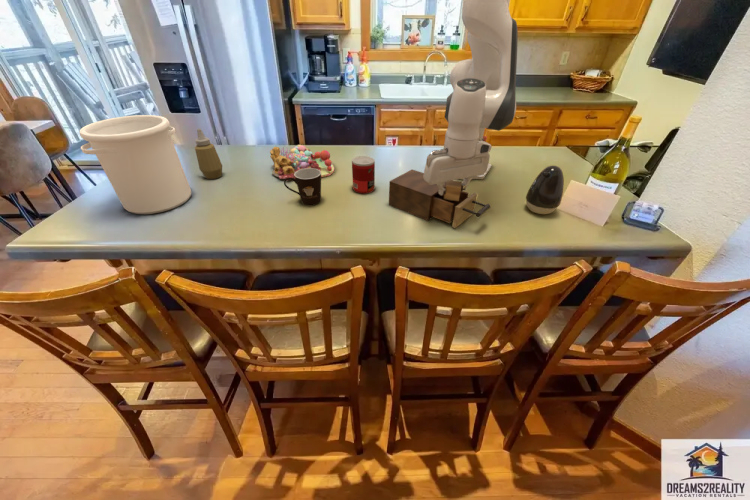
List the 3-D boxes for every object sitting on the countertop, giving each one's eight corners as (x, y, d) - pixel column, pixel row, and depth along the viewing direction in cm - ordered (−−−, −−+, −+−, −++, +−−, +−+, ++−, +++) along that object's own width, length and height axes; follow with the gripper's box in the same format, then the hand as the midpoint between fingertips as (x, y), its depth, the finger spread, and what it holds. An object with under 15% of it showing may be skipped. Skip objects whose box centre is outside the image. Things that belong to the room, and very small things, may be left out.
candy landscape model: (281, 187, 117) (276, 163, 112) (264, 165, 133) (259, 143, 128) (342, 173, 127) (341, 150, 122) (319, 155, 144) (317, 134, 138)
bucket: (137, 227, 95) (93, 143, 80) (102, 207, 105) (57, 128, 90) (213, 194, 112) (188, 120, 97) (177, 179, 122) (149, 110, 107)
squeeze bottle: (197, 178, 123) (181, 130, 112) (213, 170, 129) (199, 124, 118) (214, 182, 120) (198, 133, 110) (229, 174, 126) (216, 127, 116)
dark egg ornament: (515, 208, 105) (529, 164, 96) (533, 200, 110) (548, 157, 101) (544, 221, 99) (561, 176, 90) (562, 212, 104) (580, 167, 95)
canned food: (372, 194, 113) (372, 165, 106) (350, 192, 114) (349, 163, 107) (376, 185, 119) (376, 156, 112) (355, 183, 120) (354, 155, 113)
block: (444, 192, 99) (446, 179, 96) (459, 194, 98) (461, 181, 95) (443, 199, 95) (445, 185, 93) (458, 201, 95) (461, 187, 92)
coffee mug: (328, 197, 111) (325, 170, 105) (316, 208, 105) (313, 180, 99) (298, 192, 114) (294, 165, 108) (285, 203, 108) (280, 175, 102)
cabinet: (448, 205, 107) (452, 182, 102) (428, 220, 99) (431, 195, 94) (410, 191, 115) (412, 169, 110) (388, 204, 107) (389, 181, 102)
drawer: (489, 219, 98) (494, 199, 94) (472, 234, 91) (477, 214, 87) (434, 199, 109) (436, 180, 104) (415, 211, 102) (416, 192, 97)
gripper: (434, 155, 82) (428, 203, 90) (496, 145, 89) (485, 190, 97) (421, 147, 86) (417, 193, 95) (481, 138, 93) (472, 182, 101)
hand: (452, 192), depth 96 cm, fingers closed on block, 6 cm apart
